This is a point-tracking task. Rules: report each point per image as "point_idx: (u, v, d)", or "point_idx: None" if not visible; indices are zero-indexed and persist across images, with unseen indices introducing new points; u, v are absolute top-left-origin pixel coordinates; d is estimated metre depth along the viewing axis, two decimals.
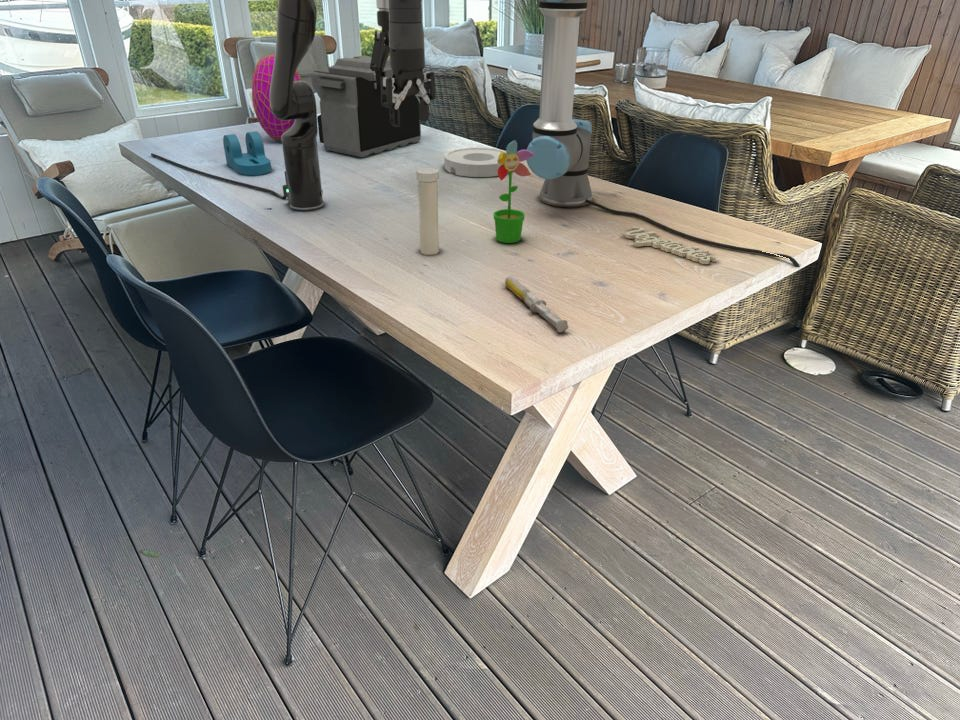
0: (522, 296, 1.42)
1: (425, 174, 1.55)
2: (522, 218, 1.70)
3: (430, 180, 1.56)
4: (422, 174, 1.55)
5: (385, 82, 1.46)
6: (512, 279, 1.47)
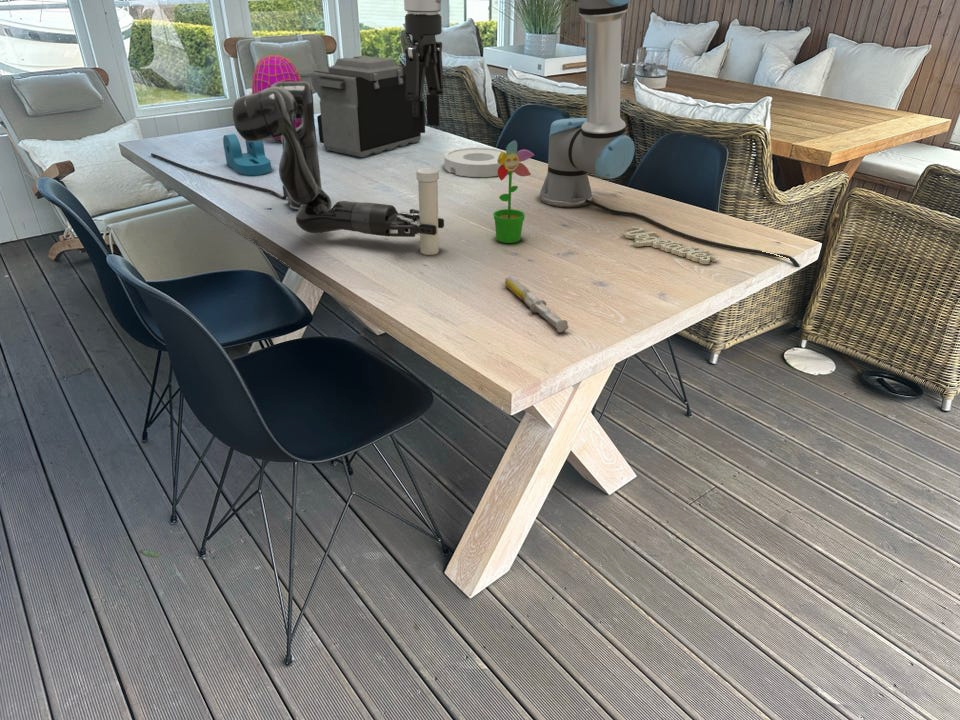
0: (522, 296, 1.42)
1: (425, 174, 1.55)
2: (522, 218, 1.70)
3: (430, 180, 1.56)
4: (422, 174, 1.55)
5: None
6: (512, 279, 1.47)
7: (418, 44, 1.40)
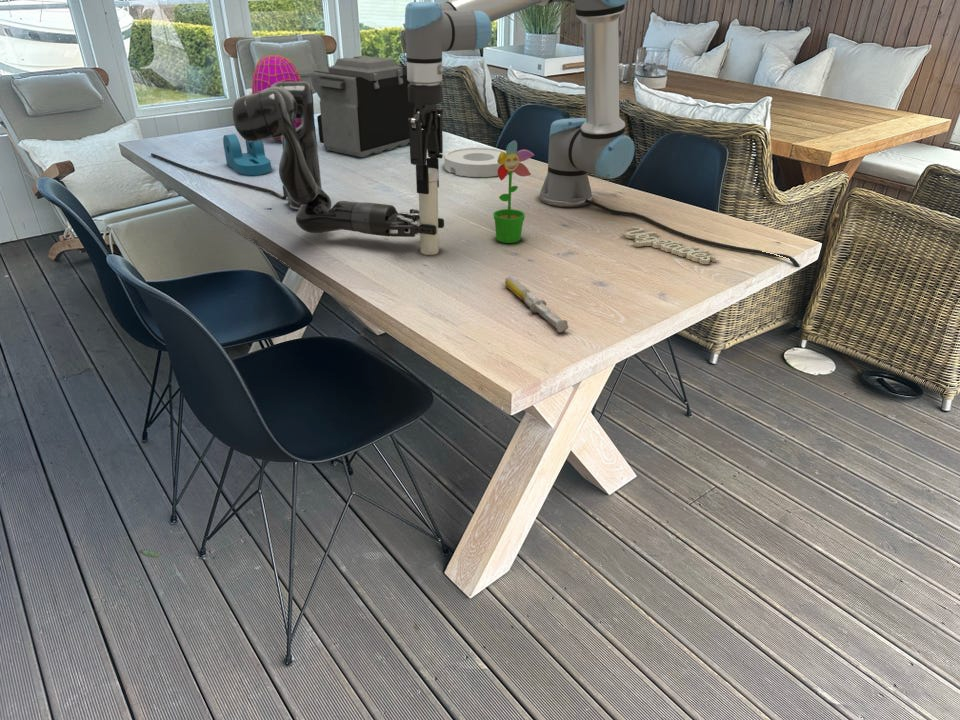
0: (522, 296, 1.42)
1: None
2: (522, 218, 1.70)
3: (430, 180, 1.56)
4: None
5: None
6: (512, 279, 1.47)
7: (420, 113, 1.47)
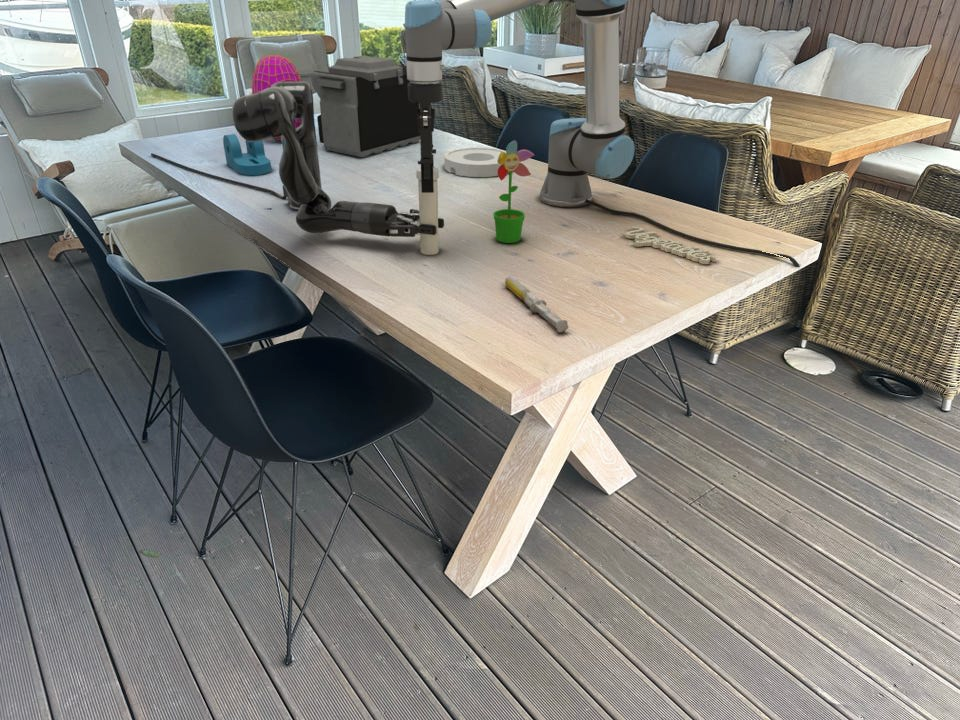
0: (522, 296, 1.42)
1: None
2: (522, 218, 1.70)
3: None
4: (437, 171, 1.57)
5: None
6: (512, 279, 1.47)
7: (428, 111, 1.47)
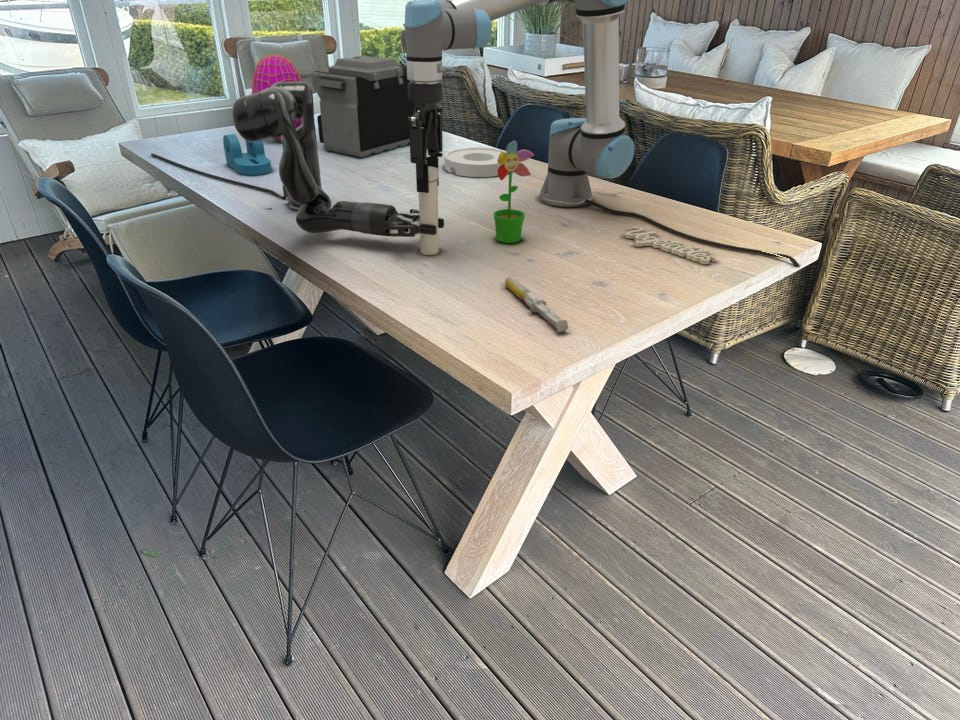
0: (522, 296, 1.42)
1: None
2: (522, 218, 1.70)
3: None
4: (438, 171, 1.57)
5: None
6: (512, 279, 1.47)
7: (420, 111, 1.47)
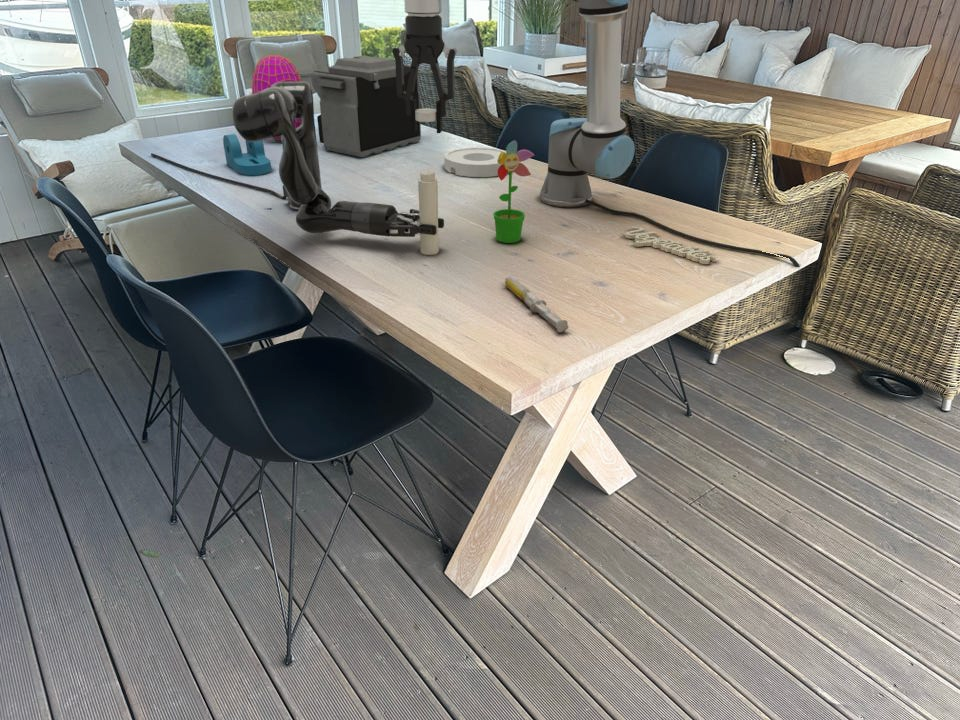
0: (522, 296, 1.42)
1: None
2: (522, 218, 1.70)
3: None
4: None
5: None
6: (512, 279, 1.47)
7: None
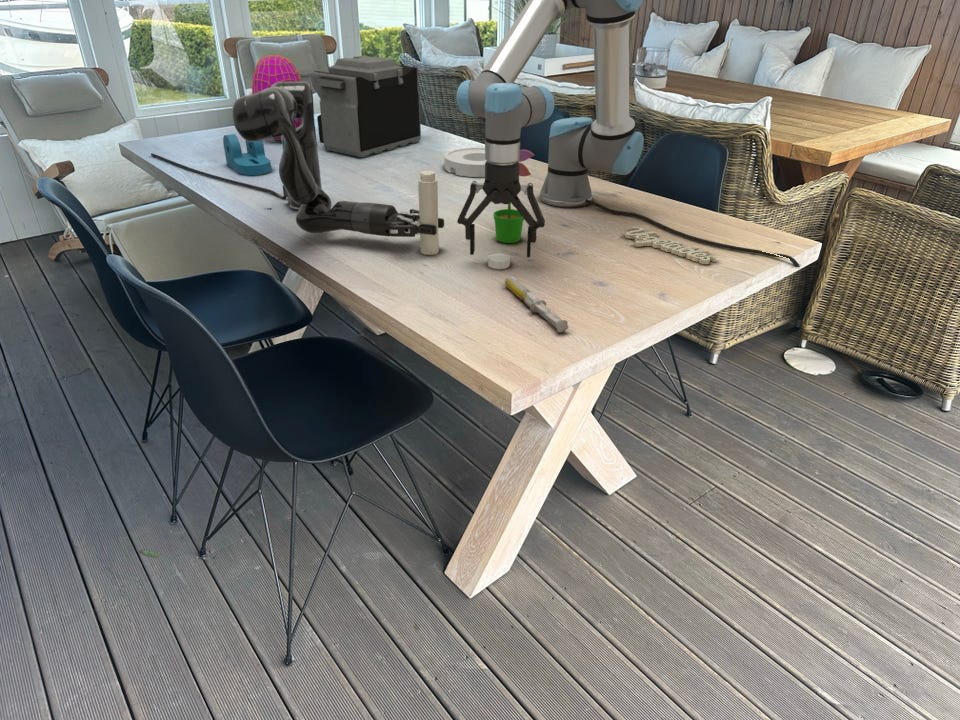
0: (522, 296, 1.42)
1: None
2: (522, 218, 1.70)
3: None
4: None
5: None
6: (512, 279, 1.47)
7: None
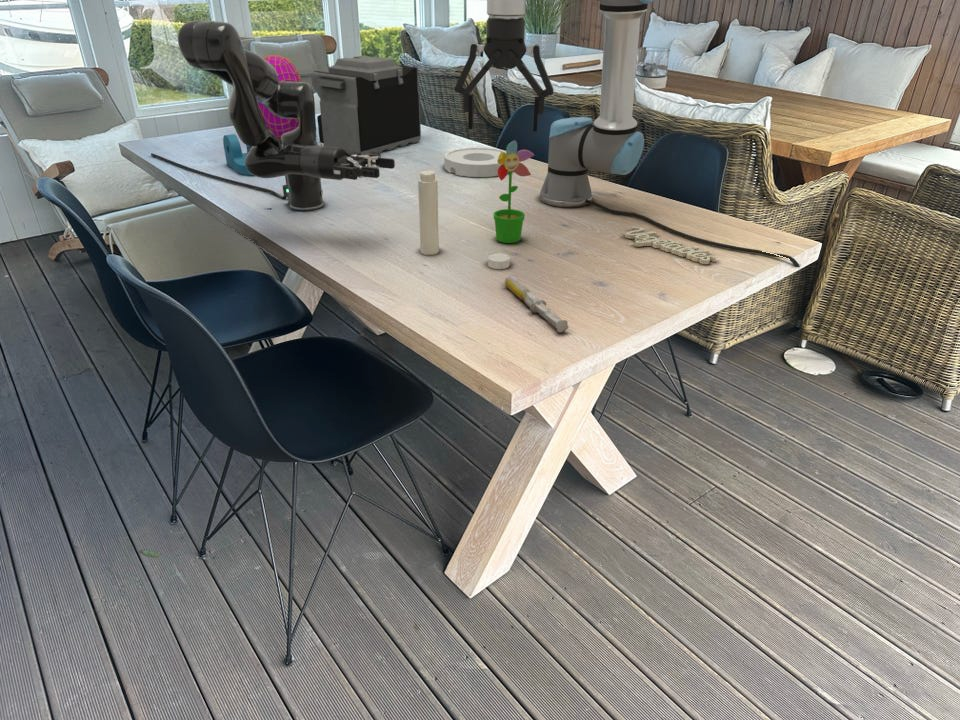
0: (522, 296, 1.42)
1: None
2: (522, 218, 1.70)
3: None
4: None
5: None
6: (512, 279, 1.47)
7: None
